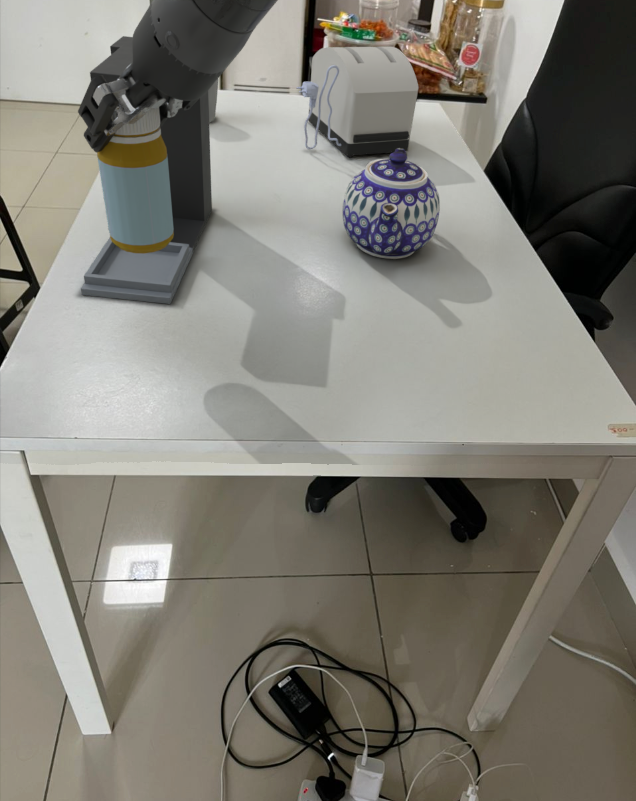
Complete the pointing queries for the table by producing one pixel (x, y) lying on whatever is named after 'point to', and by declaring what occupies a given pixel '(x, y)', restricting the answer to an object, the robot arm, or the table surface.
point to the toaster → (362, 98)
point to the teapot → (391, 207)
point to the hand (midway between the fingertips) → (119, 135)
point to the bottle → (137, 185)
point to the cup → (212, 100)
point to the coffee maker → (189, 199)
